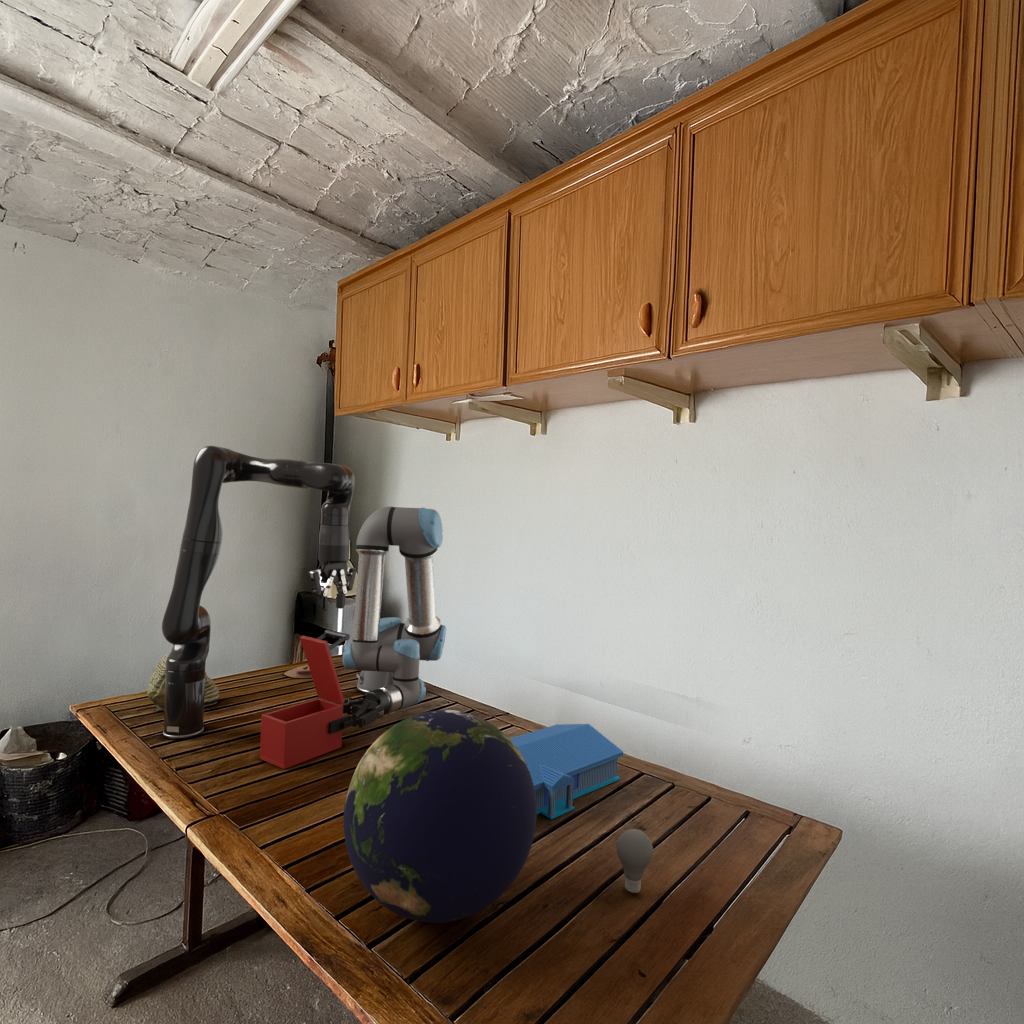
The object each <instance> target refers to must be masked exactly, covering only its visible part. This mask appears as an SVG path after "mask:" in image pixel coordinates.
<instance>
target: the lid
mask: <svg viewBox="0 0 1024 1024" xmlns="http://www.w3.org/2000/svg"><path fill="white" fill-rule="evenodd" d="M326 637H330V638H334V639H338V640H336V641H335V642H334V643H332V644H331V645H329V643H328V641H327V640H323V639H324V638H326ZM299 639H300V644H301V646H302V648H303V649H302V650H303V652H304V656H305V659H306V663H307V665H308V666H309V669H310V672H311V675H312V677H311V679H312V681H313V685H314V688H315V691H316V695H317V697H318V698H321V699H324V700H327V701H330V702H332V701H333V702H336V703H340V704H343V703H344V702H345V701H344V699H345V698H344V695H343V691H342V688H341V685H340V681H339V678H338V675H337V674H338V673H337V671H336V667H335V664H334V660H333V657H332V654H331V650H333V649H334V648H336V647H338V646H339V645H340V644H342V643H344V641H349V640H350V639H351V635H350V634H349V633H345V632H340V631H337V630H332V629H325V630H324V632H323V634H321V635H319V636H318V637H316V638H314V637H311V636H306V635H302V636H300V637H299Z"/></svg>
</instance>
